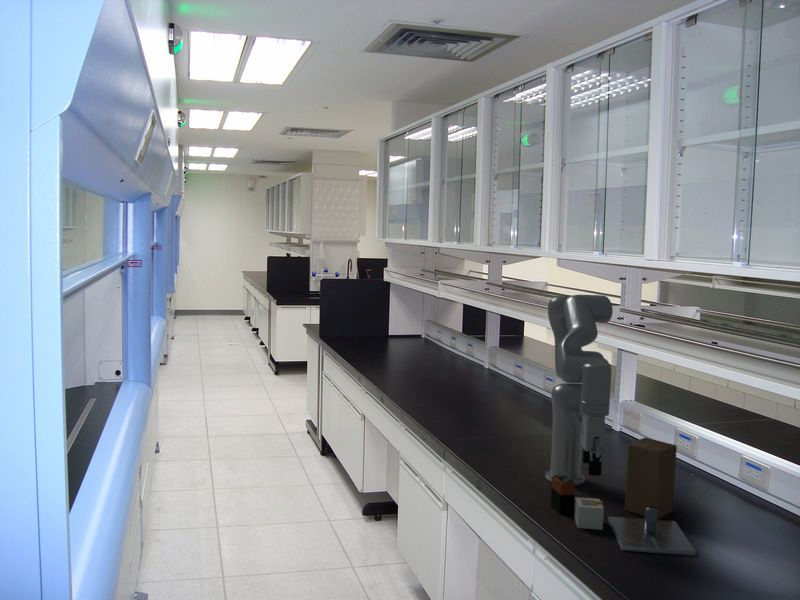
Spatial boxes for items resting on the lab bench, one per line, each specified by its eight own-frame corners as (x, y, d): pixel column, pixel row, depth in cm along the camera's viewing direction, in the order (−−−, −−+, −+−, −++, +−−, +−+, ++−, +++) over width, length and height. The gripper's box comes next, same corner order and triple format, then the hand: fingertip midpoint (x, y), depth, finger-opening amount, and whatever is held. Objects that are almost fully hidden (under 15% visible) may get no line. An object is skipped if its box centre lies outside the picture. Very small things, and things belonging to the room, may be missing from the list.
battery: (563, 504, 203) (565, 471, 202) (574, 513, 197) (576, 479, 196) (549, 505, 202) (551, 472, 201) (560, 514, 196) (562, 480, 195)
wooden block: (672, 512, 200) (677, 445, 198) (656, 521, 193) (661, 452, 191) (640, 501, 207) (644, 436, 205) (623, 510, 200) (628, 443, 198)
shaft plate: (608, 520, 192) (610, 493, 192) (674, 525, 191) (676, 497, 190) (621, 550, 175) (623, 520, 174) (695, 555, 173) (697, 525, 172)
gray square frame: (574, 517, 194) (575, 495, 193) (598, 519, 193) (599, 497, 192) (577, 527, 187) (578, 504, 187) (602, 529, 186) (604, 506, 186)
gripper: (576, 399, 196) (573, 458, 197) (585, 415, 178) (582, 479, 180) (603, 401, 195) (599, 459, 196) (615, 416, 178) (611, 481, 179)
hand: (591, 469), depth 188 cm, fingers open, 9 cm apart
